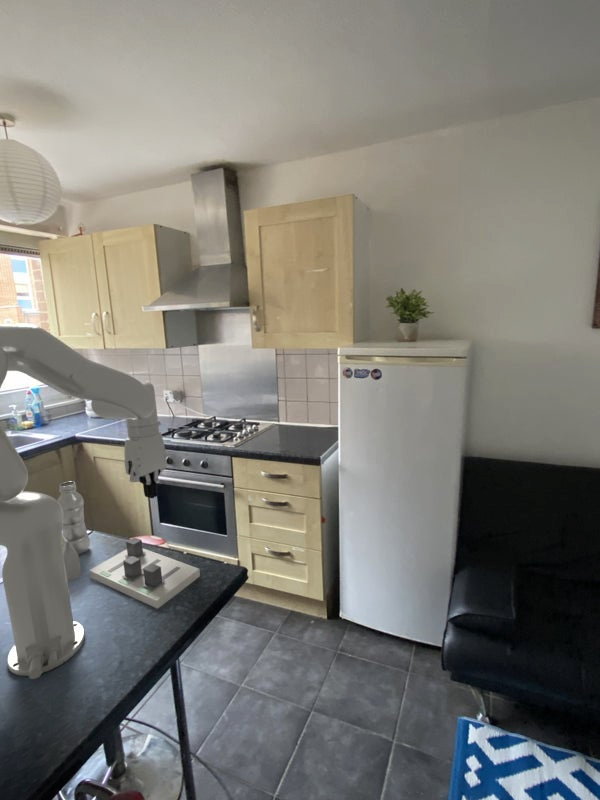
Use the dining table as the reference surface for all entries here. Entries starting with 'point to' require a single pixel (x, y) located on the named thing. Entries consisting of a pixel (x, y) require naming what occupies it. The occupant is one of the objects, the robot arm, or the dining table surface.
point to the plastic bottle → (73, 517)
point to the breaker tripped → (134, 548)
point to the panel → (171, 570)
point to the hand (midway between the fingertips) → (151, 496)
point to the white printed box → (70, 560)
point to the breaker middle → (132, 568)
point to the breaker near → (152, 576)
